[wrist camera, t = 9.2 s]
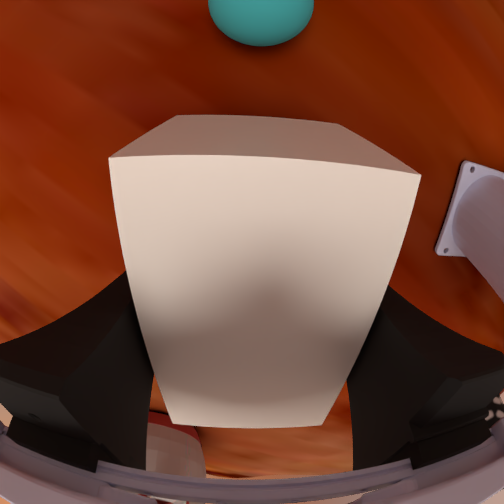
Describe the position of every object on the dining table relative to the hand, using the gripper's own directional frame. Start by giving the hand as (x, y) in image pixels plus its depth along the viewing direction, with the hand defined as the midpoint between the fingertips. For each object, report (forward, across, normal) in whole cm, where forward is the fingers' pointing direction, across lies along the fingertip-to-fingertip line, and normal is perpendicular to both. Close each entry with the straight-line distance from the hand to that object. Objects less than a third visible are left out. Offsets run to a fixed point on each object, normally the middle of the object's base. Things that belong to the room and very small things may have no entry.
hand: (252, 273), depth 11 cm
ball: (+6, 0, -11) cm, 13 cm away
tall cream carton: (+2, 0, 0) cm, 2 cm away
